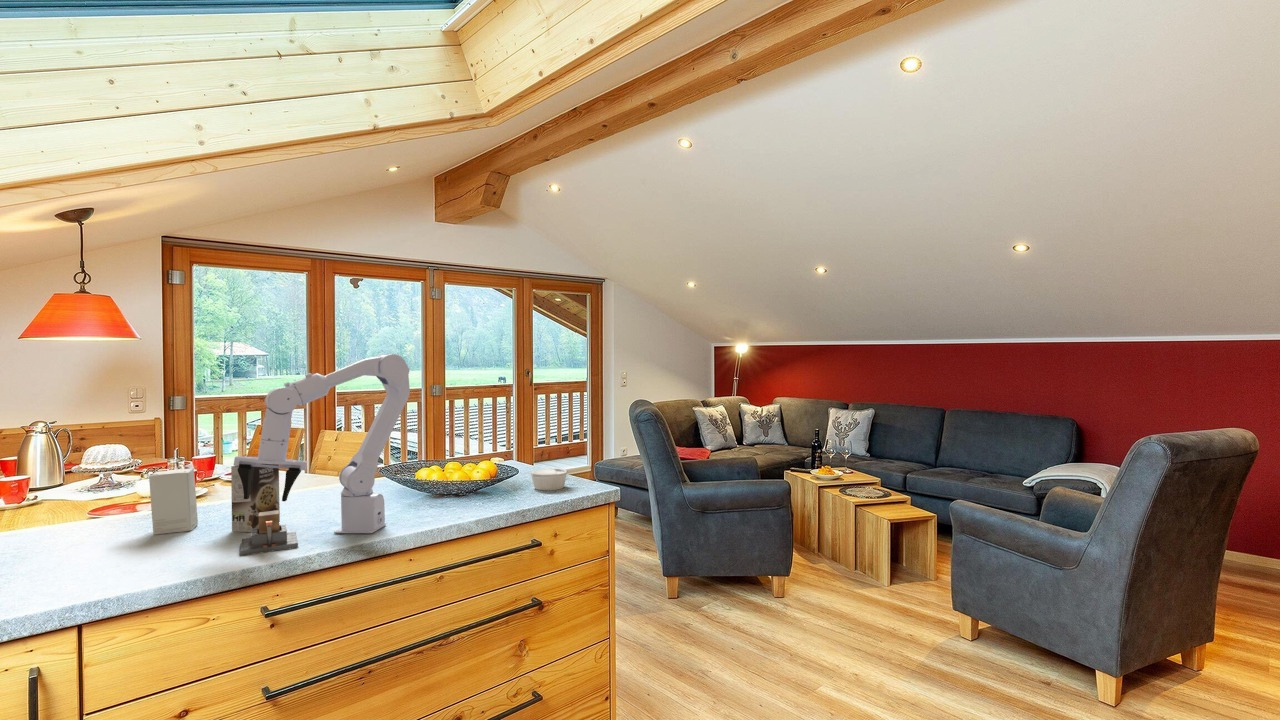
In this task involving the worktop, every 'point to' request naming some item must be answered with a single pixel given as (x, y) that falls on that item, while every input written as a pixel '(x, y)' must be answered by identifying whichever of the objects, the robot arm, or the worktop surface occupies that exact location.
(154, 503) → the skincare box
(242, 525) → the coffee box
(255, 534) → the sleeve stand
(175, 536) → the worktop surface
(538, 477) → the ramekin
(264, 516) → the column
